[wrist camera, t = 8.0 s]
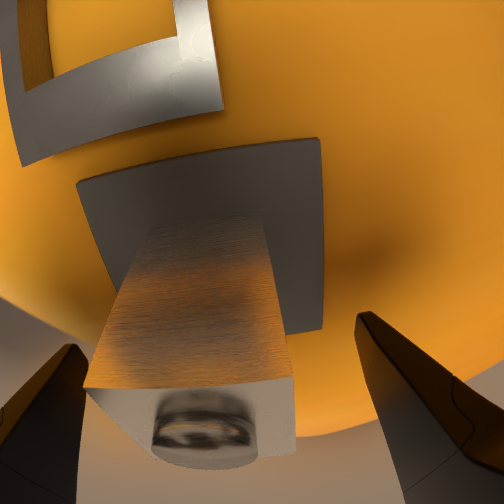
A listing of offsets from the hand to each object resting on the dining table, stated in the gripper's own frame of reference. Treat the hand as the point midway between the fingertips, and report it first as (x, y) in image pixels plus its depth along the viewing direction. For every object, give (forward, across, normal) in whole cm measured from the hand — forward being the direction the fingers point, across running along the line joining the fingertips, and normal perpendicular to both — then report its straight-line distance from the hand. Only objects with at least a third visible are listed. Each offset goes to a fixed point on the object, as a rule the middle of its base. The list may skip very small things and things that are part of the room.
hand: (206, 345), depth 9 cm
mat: (+4, 0, 0) cm, 4 cm away
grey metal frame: (+4, +2, -18) cm, 19 cm away
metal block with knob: (+4, 0, 0) cm, 4 cm away
